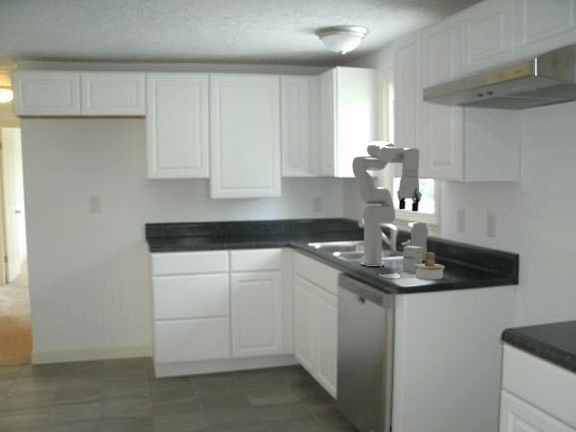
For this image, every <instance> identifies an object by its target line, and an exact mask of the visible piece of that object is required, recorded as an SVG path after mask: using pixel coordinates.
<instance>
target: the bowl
mask: <svg viewBox="0 0 576 432" xmlns="http://www.w3.org/2000/svg"><path fill="white" fill-rule="evenodd" d="M443 271H444V269H440V270H427V269H419V268H417V270H416V272H415V277H416V278H419V279H423V280H424V279H425V280H441V279H443V274H444V272H443Z"/></svg>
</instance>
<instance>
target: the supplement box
mask: <svg viewBox="0 0 576 432" xmlns="http://www.w3.org/2000/svg"><path fill="white" fill-rule="evenodd" d="M402 253H403V254H402V255H403V256H402V259H403V260H402V271H403V272H409V273H416V270H417V268H416V267H415V264H423V262H422V257H423V247H417V246H412V245H406V246H404V247H403V252H402Z"/></svg>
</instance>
